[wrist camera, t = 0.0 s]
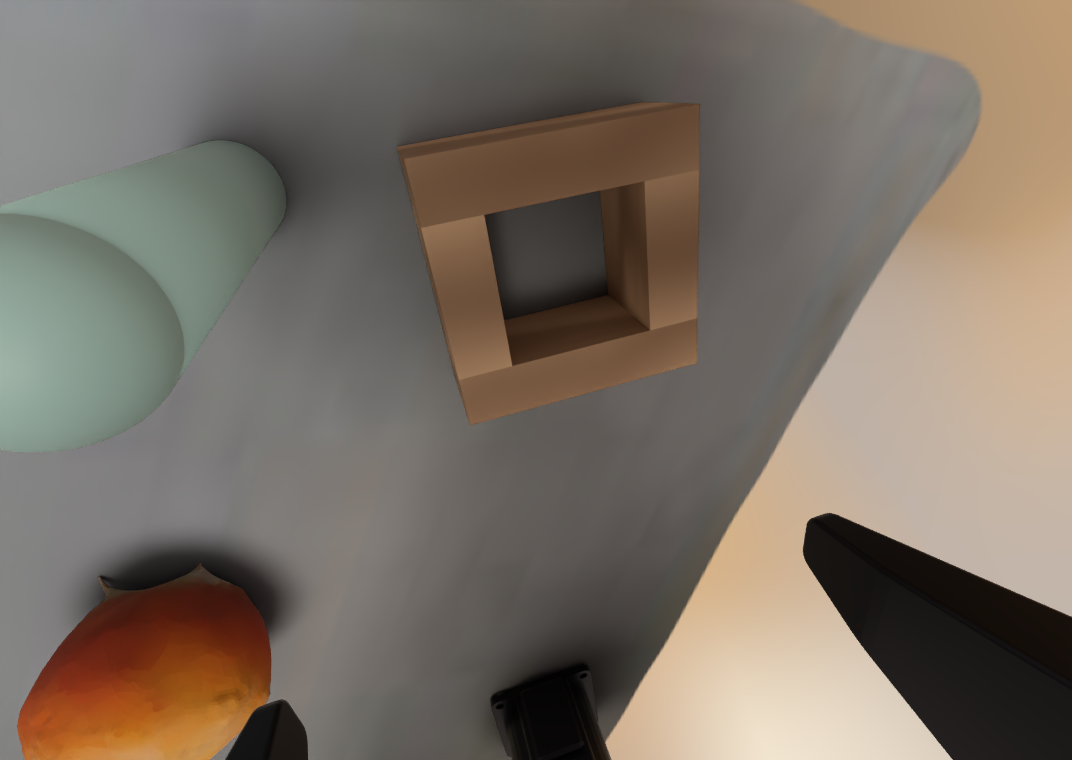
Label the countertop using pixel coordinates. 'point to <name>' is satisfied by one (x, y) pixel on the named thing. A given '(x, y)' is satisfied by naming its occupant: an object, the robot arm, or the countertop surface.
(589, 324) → the wooden square socket block
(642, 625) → the countertop surface
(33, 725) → the fruit
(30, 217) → the dowel
